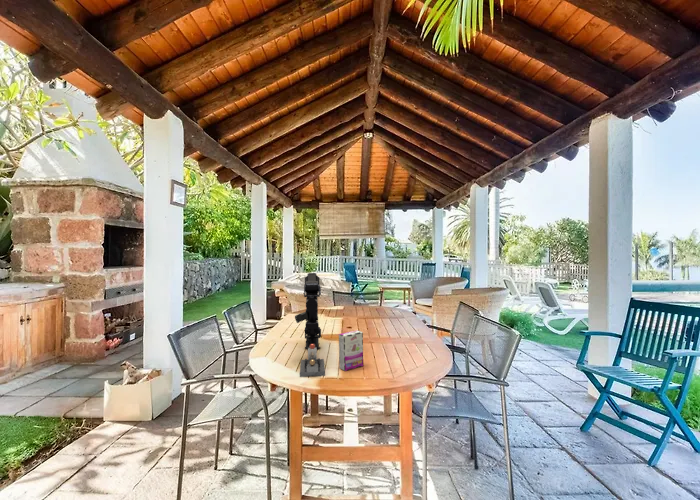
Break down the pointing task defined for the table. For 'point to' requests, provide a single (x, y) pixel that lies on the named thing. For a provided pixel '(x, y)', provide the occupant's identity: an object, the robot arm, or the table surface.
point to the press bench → (320, 373)
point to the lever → (312, 353)
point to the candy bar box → (350, 350)
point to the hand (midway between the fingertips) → (312, 338)
